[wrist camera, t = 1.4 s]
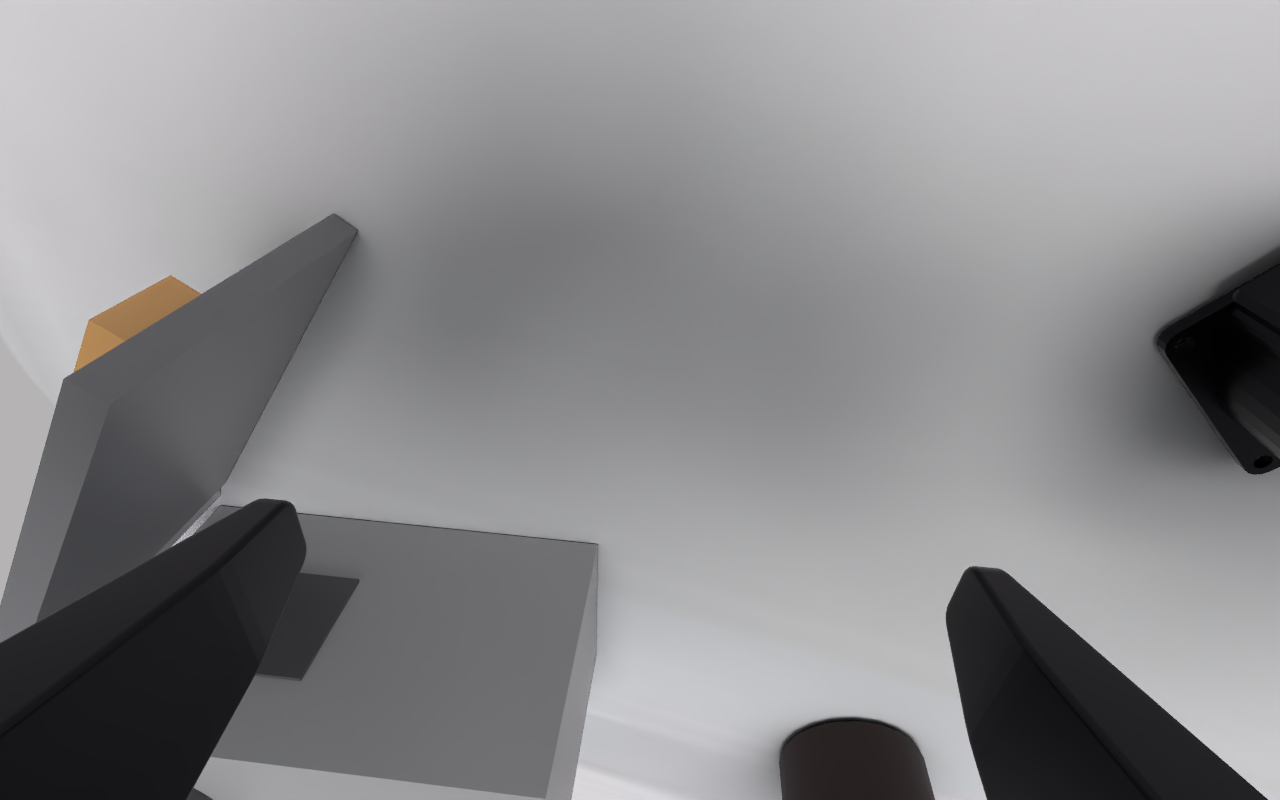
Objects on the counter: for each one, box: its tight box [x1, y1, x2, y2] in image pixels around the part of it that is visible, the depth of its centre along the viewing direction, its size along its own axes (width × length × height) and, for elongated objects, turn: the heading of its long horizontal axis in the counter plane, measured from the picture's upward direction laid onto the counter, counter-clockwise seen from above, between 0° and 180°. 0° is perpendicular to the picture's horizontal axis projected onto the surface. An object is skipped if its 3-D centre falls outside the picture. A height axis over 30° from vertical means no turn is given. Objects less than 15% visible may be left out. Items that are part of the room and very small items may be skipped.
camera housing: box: [187, 506, 598, 800], centre depth 23 cm, size 16×7×11 cm, turn 87°
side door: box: [0, 214, 358, 642], centre depth 19 cm, size 14×2×10 cm, turn 142°
